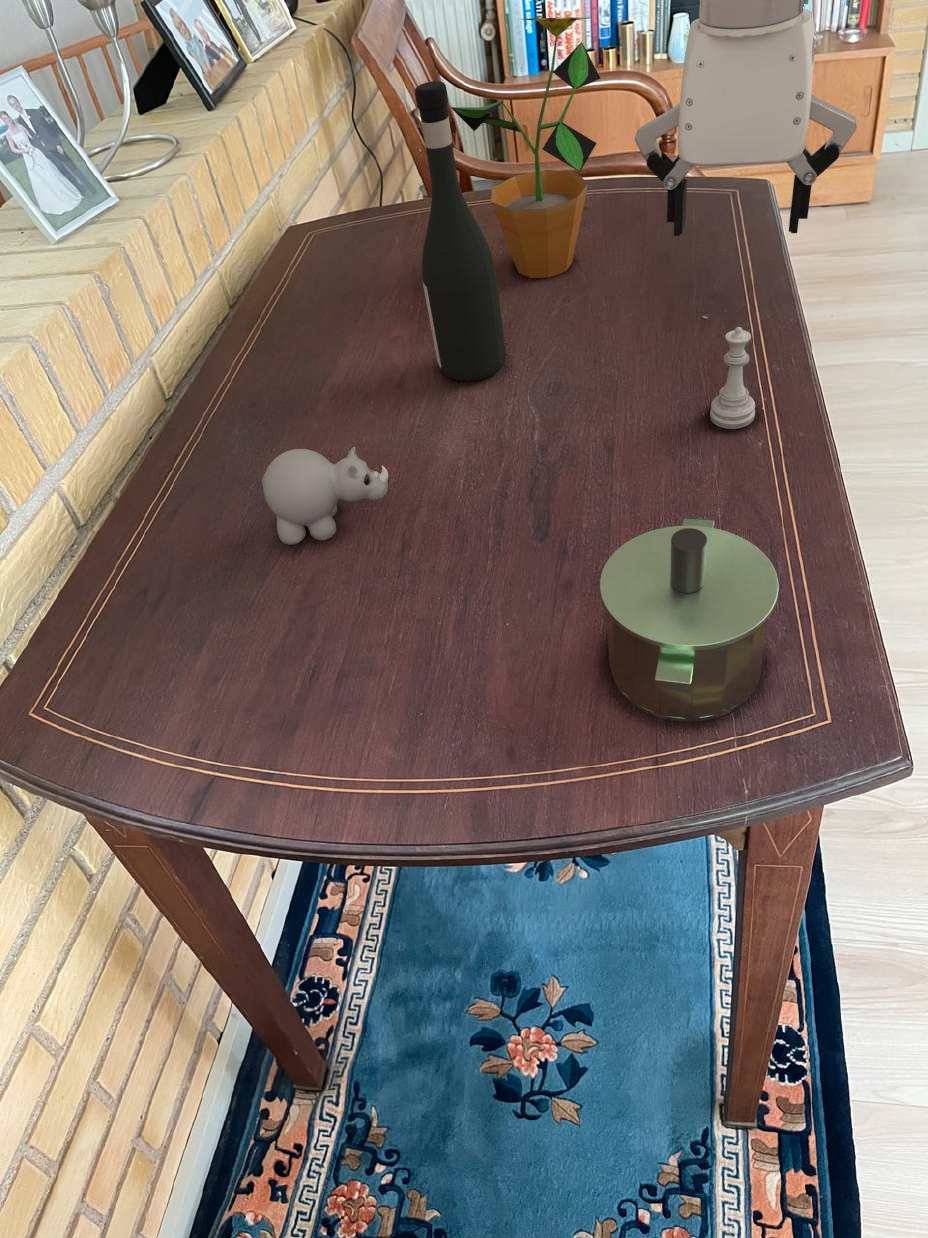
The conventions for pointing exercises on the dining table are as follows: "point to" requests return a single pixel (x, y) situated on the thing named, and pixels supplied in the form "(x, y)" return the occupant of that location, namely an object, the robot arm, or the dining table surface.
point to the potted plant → (544, 175)
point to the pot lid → (689, 587)
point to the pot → (685, 672)
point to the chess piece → (734, 387)
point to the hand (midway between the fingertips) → (735, 227)
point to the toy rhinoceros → (316, 491)
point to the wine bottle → (456, 259)
